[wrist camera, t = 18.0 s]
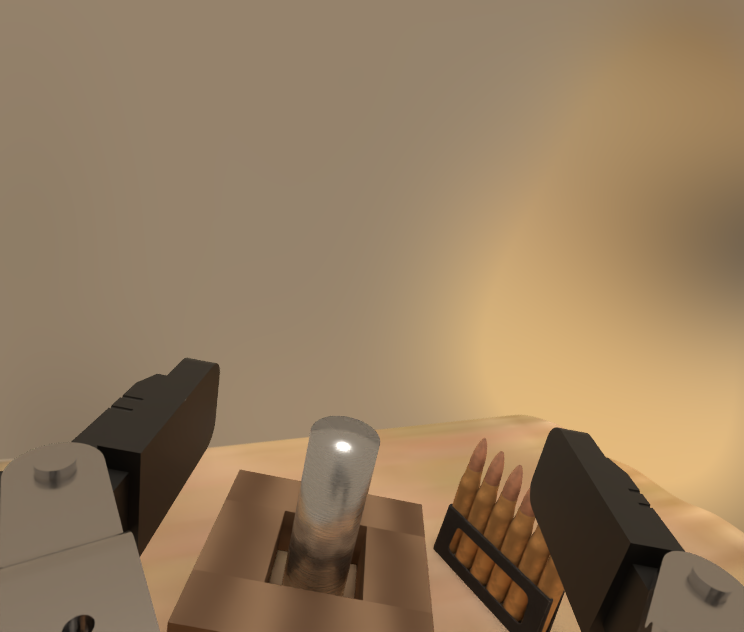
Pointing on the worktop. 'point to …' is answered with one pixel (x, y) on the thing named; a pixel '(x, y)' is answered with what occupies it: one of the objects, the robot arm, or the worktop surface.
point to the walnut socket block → (297, 606)
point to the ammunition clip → (500, 548)
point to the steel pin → (330, 504)
